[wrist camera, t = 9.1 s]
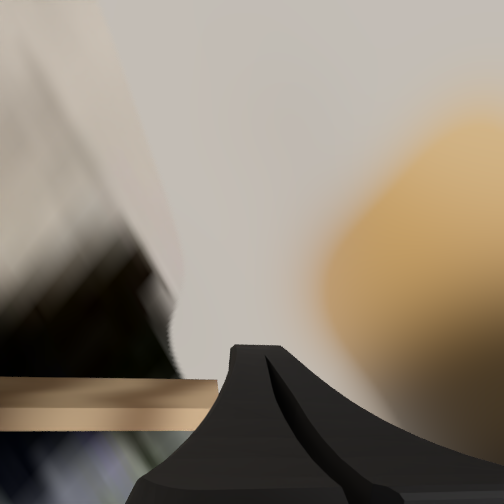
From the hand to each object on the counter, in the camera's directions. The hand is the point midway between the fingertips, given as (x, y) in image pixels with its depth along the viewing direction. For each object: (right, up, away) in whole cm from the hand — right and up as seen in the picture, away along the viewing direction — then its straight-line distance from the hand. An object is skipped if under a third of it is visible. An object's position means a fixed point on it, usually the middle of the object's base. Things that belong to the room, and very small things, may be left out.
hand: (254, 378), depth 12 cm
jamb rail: (-12, -3, +10) cm, 16 cm away
